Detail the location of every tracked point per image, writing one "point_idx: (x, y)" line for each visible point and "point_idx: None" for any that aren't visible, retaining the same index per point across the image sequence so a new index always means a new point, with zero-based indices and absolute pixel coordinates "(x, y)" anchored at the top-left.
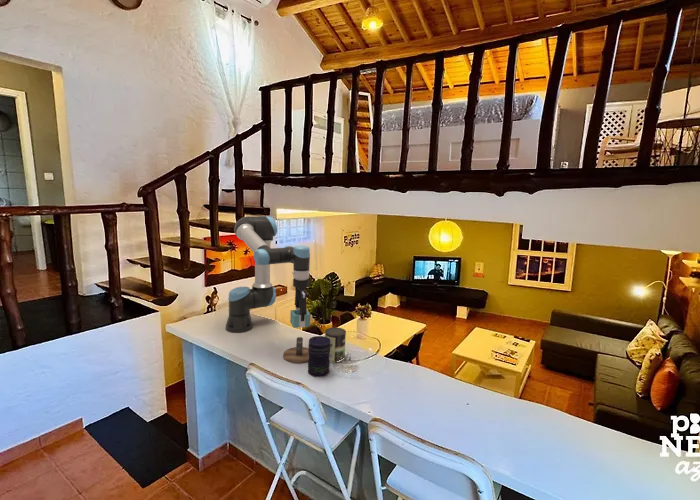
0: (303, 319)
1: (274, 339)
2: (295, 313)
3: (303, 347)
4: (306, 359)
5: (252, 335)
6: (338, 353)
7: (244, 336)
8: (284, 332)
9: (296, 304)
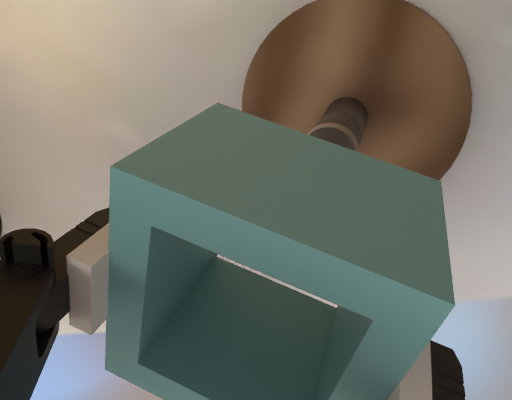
0: (456, 391)
1: (94, 129)
2: (163, 310)
3: (271, 39)
4: (449, 119)
5: (33, 193)
6: None
7: (38, 224)
8: (17, 30)
9: (33, 390)
